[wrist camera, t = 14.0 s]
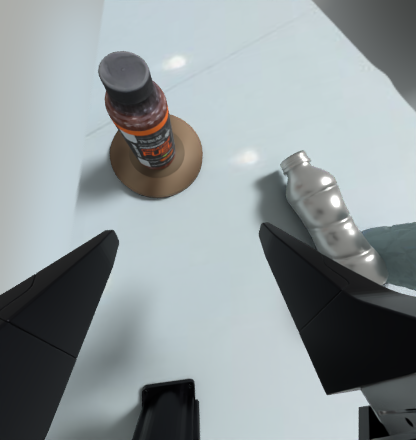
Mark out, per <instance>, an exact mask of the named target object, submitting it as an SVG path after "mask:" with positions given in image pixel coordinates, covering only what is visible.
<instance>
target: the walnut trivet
mask: <svg viewBox="0 0 416 440" xmlns="http://www.w3.org/2000/svg"><path fill="white" fill-rule="evenodd" d="M169 116H170V121H171V127H172V132H173V138H174V143H175V150H176V154H175V158H174V160H173V161H172V163H171V164H170V165H169V166H167V167H165V168H163V169H155V170H153V169H149V168H147V167H145V166H144V165H142V164H141V163H140V162H139V161H138V159H137V158H136V156H135V155H134V153H133V152H132V150H131V149H130V147H129V145H128V144H127V142H126V141H125V139H124V138H123V136H122V135H121V133H120V132H119V130H118V131H117V133H116V134H115V136H114V138H113V141H112V144H111V147H110V160H111V165H112V168H113V170H114V172H115V174H116V176H117V177H118V178H119V180H120V181H121V182H122V183H123V184H125V185H126V186H127V187H128V188H129V189H131V190H132V191H134V192H136V193H138V194H140V195H143V196H147V197H153V198H163V197H169V196H173V195H175V194H178V193H180V192H182V191H183V190H185V189H186V188H188V187H189V186H190V185H191V184H192V183H193V182H194V180H195V179H196V177H197V176H198V174H199V172H200V169H201V165H202V154H203V152H202V146H201V142H200V139H199V137H198V135H197V134H196V132H195V131H194V130H193V128H192V127H191V126H190V125H189V124H187V123H186V122H185V121H183V120H182V119H180V118H178V117H176V116H173V115H170V114H169Z"/></svg>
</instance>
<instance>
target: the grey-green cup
mask: <svg viewBox="0 0 416 440" xmlns="http://www.w3.org/2000/svg"><path fill="white" fill-rule="evenodd" d="M362 234H363V236H364V237H365V238H366V240H367V241H368V243H369V244H370V245H371V246H372V247H373V248H374V249H375V250H376V251H377V252H378V254H379V255H380V256H381V257H382V259H383V260H384V261H385V264H386V267H387V270H388V273H389V275H388V278H387V281H386V283H390V284H393V285H396V286H402V287H406V288H408V289H412V290H415V291H416V222H413V223H406V224H400V225H393V226H392V227H387V226H383V227H375V228H370V229H367V230H365V231H363V232H362Z"/></svg>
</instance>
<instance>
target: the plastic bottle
mask: <svg viewBox="0 0 416 440" xmlns="http://www.w3.org/2000/svg"><path fill="white" fill-rule="evenodd" d="M310 162H311V159H310V158H308V156H307V154H306V152H305V151H304V150H302V151H299V152H297V153H295V154H293V155H291V156H290V157H288V158H287V159H285V160H284V161H283V162H282V163H281V164H280V167H281V168H282V170H283V174H284V176H286V175H287V177H288V181H287V186H286V199H287V201H288V202H289V204H290V205H291V207H292V208H293V209H294V211H295V212H296V213H297V215H298V216H299V217H300V219H301V220H302V222H303V224H304V225H305V227H306V228H307V229H308V232H309V233H310V235H311V237H312V239H313V241H314V244H315V246H316V248H317V251H318V252H320V253H322V254H324V255H325V256H327V257H329V258H330V259H332V260H334V261H336V262H338V263H339V264H341V265H343V266H345V267H347V268H349V269H351V270H352V271H354V272H356V273H358V274H360V275H362V276H364V277H366V278H368V279H370V280H372V281H374V282H376V283H378V284H380V285H384V284H385V283H386V281H387V278H388V275H389V273H388V270H387V267H386V264H385V261H384V260H383V259H382V257H381V256H380V255H379V254H378V252H377V251H376V250H375V249H374V248H373V247H372V246H371V245H370V244H369V243H368V241H367V240H366V238H365V237H364V236H363V234H362V233H361V231H360V230H359V229H358V227H357V226H356V224H355V223H354V221H353V219H352V217H351V216H350V215H349V214H350V213H349V211H348V209H347V207H346V205H345V203H344V200H343V197H342V194H341V192H340V189H339V186H338V185H337V181H336V179H335V177H334V176H333V175H332V174H330V173H329V172H327V171H325V170H323V169H320V168H317V167H314V166H312V165H311V164H310Z"/></svg>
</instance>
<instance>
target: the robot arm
mask: <svg viewBox="0 0 416 440" xmlns="http://www.w3.org/2000/svg"><path fill="white" fill-rule="evenodd" d="M259 238H260V241H261V244H262V247H263V250H264V254H265V257H266V259H267V261H268V264H269V266H270V268H271V270H272V273H273V275H274V277H275V279H276V282H277V284H278V286H279V288H280V291H281V293H282V295H283V298H284V300H285V302H286V304H287V307H288V309H289V311H290V313H291V316H292V318H293V320H294V322H295V325H296V327H297V329H298V331H299V334H300V336H301V339H302V341H303V343H304V345H305V348H306V350H307V352H308V354H309V357H310V359H311V361H312V363H313V366H314V368H315V370H316V373H317V375H318V377H319V379H320V382H321V384H322V386H323V388H324V390H325V392H326V394H327V395H332V394H338V393H344V392H351V391H357V390H361V391H362V393H363V395H364V396H365V398H366V399H367V401H368V403H369V404H370V405H369V406H363V407H359V440H416V297H414V296H409V295H405V294H401V293H398V292H395V291H393V290H390V289H388V288H386V287H384V286H382V285H380V284H378V283H376V282H374V281H372V280H370V279H368V278H366V277H364V276H362V275H360V274H358V273H356V272H354V271H352V270H351V269H349V268H347V267H345V266H343V265H341V264H339V263H338V262H336V261H334V260H332V259H330V258H329V257H327V256H325V255H324V254H322V253H320V252H318V251H317V250H315V249H313V248H312V247H310V246H308V245H306V244H305V243H303V242H301V241H300V240H298V239H296V238H294V237H293V236H291V235H289V234H288V233H286V232H284V231H282V230H281V229H279V228H277V227H276V226H274V225H272V224H270V223H268V222H265V223H262V224H261V227H260V230H259ZM118 246H119V240H118V237H117V235H116V233H115V231H114V230H106V231H104V232H102V233H101V234H99V235H97V236H96V237H94V238H92V239H91V240H89V241H88V242H86V243H84V244H83V245H81V246H80V247H78V248H76V249H75V250H73V251H72V252H70V253H68V254H67V255H65V256H63V257H62V258H60V259H59V260H57V261H55V262H54V263H52V264H51V265H49V266H47V267H46V268H44V269H43V270H41V271H39V272H38V273H37V274H35V275H33V276H31V277H30V278H28V279H26V280H25V281H23V282H21V283H20V284H18V285H16V286H15V287H13V288H12V289H10V290H8V291H6V292H5V293H3V294H1V295H0V440H44V439H45V437H46V435H47V433H48V431H49V428H50V426H51V423H52V421H53V418H54V415H55V413H56V410H57V408H58V405H59V403H60V400H61V398H62V395H63V393H64V390H65V388H66V385H67V383H68V380H69V377H70V375H71V372H72V370H73V367H74V365H75V362H76V360H77V359H76V358H77V357H78V354H79V352H80V349H81V347H82V344H83V342H84V339H85V336H86V334H87V331H88V329H89V326H90V324H91V321H92V319H93V316H94V314H95V311H96V308H97V306H98V303H99V301H100V298H101V296H102V293H103V291H104V288H105V286H106V283H107V281H108V278H109V275H110V273H111V270H112V268H113V264H114V261H115V257H116V253H117V249H118ZM189 384H192V385H191V386H190V385H189ZM146 390H147V391H148V392H146ZM132 440H200V415H199V401H198V400H197V399H196V400H195V383H194V380H192V379H188V380H180V381H173V382H166V383H159V384H152V385H146V386H145V387H144V388H143V391H142V410H141V413H140V416H139V419H138V422H137V425H136V428H135V432H134V435H133V438H132Z"/></svg>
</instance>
